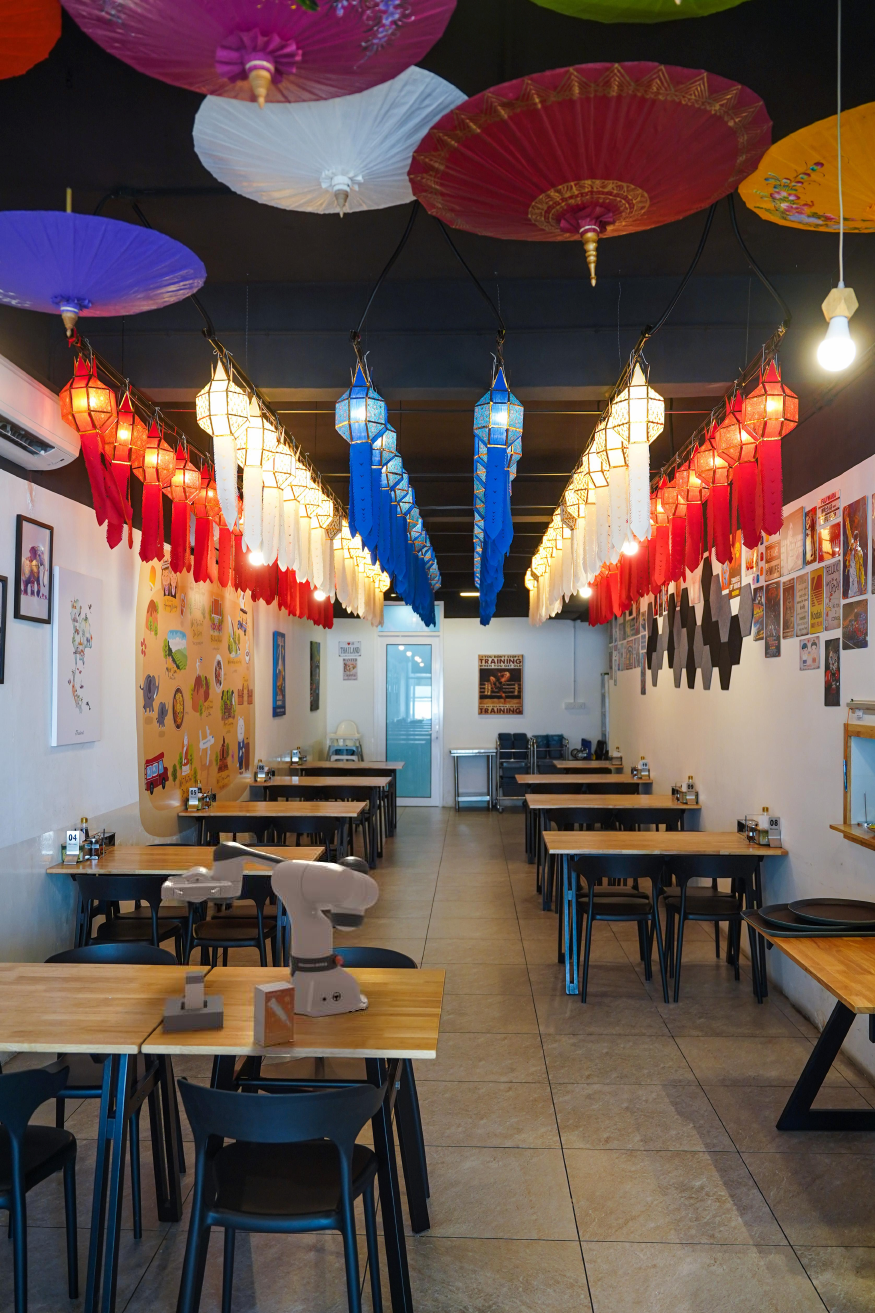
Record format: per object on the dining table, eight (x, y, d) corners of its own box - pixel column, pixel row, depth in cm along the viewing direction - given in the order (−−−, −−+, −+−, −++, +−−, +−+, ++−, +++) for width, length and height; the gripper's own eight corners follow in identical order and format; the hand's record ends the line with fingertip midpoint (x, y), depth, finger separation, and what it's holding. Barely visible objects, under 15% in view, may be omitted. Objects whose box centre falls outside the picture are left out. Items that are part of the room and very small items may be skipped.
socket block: (222, 1010, 239) (222, 994, 240) (223, 1027, 225) (223, 1011, 226) (165, 1014, 236) (166, 998, 236) (163, 1032, 222) (163, 1016, 222)
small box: (263, 1048, 211) (264, 992, 212) (252, 1040, 216) (253, 985, 217) (294, 1041, 216) (295, 986, 217) (283, 1033, 221) (283, 980, 222)
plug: (203, 1017, 233) (204, 970, 234) (203, 1023, 229) (204, 975, 230) (184, 1018, 232) (185, 971, 233) (184, 1024, 228) (185, 976, 229)
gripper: (232, 895, 271) (233, 904, 257) (162, 898, 265) (160, 908, 252) (232, 874, 271) (234, 882, 258) (162, 877, 266) (160, 885, 253)
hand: (196, 895), depth 255 cm, fingers open, 8 cm apart
